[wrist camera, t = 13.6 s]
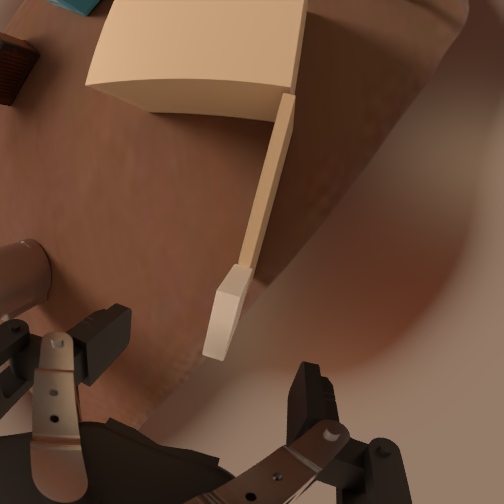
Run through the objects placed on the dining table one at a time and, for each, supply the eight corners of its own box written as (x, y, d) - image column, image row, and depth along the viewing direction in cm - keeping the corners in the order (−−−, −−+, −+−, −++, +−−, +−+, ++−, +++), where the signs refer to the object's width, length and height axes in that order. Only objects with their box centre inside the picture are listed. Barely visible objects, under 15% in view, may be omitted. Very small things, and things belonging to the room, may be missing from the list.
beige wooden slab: (294, 130, 28) (301, 66, 11) (254, 277, 31) (221, 367, 15) (283, 127, 28) (276, 60, 11) (244, 274, 32) (200, 361, 15)
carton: (289, 124, 28) (290, 87, 16) (148, 112, 29) (85, 85, 17) (306, 11, 24) (311, -54, 12) (176, 7, 25) (136, -45, 14)
